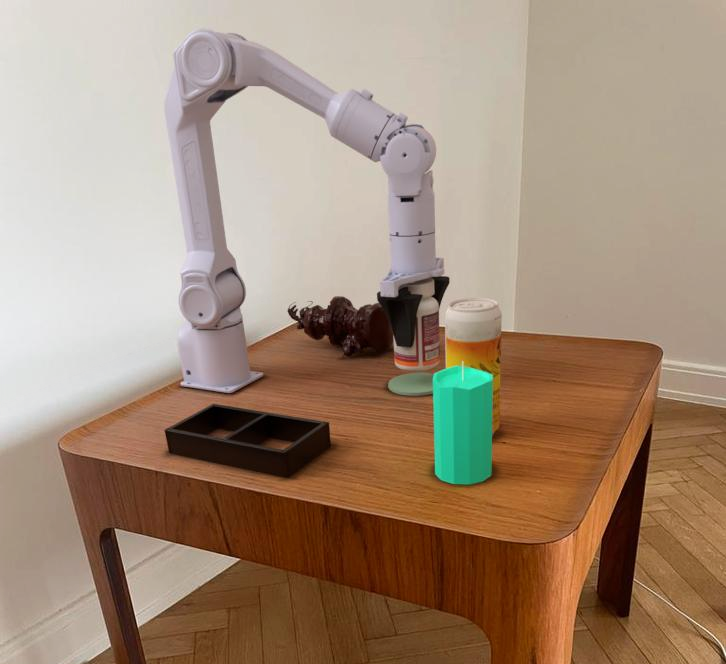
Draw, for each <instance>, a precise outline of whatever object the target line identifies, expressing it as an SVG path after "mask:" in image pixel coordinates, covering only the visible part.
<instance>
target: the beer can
mask: <svg viewBox="0 0 726 664" xmlns="http://www.w3.org/2000/svg"><path fill="white" fill-rule="evenodd" d="M445 311H446V312H445V314H444V341H445V342H444V343H445V344H444V346H445V369H447V368H450V367H453V366H462V361H464V367H470V368H475V369H478V370H481V371H485V372H487V373H490V374H492V375H493V409H492V436H493V435H494V434H495V433H496V431H497V430H498V429H499V428H500V416H501V415H500V414H501V413H500V411H501V365H502V364H501V363H502V319H503V317H502V315H503V314H502V310H501V309H500V306H499V303H498V301H497V300H495V299H492V298H486V297H485V298H484V297H468V298H460V299H457V300H453V301H451V302H449V303H448V307H447V309H446V310H445Z"/></svg>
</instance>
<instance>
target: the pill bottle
mask: <svg viewBox="0 0 726 664" xmlns="http://www.w3.org/2000/svg"><path fill="white" fill-rule="evenodd" d="M407 287H408V292H409V291H410V292H411V294H421V295H423V297H422V299H421V301H420V304H419V307H418V311H417V315H416V322H415V337H414V343H413V346H412V347H400V346H397V345H396V342H395V339H394V335H393V339H394V340H393V356H394V364H395V366H396V367H397V369H400V370H403V371H408V372H422V371H423V372H424V371H429V370H431V369H434V368H435V367H437V366H438V365H439V364H440V362H441V346H440V345H441V344H440V343H441V341H440V308H439V304H438V302H437V300H436V299H434V298H433V297H431V296H432V295H434V293H435V290H434V279H433V278H427V279H423V280H419V281H416V282H414V283H413V284H409V285H408V286H407Z"/></svg>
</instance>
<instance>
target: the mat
mask: <svg viewBox="0 0 726 664" xmlns="http://www.w3.org/2000/svg"><path fill="white" fill-rule="evenodd" d="M433 377H434V373H431V372H409V373H405V374H400V375H397V376H395V377H393V378H391V379H390V380H389V381H388V383H387V387H388V390H389V391H390V392H392V393H394V394H395V395H401V396H407V397H420V396H421V397H422V396H428V395H433Z"/></svg>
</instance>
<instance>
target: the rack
mask: <svg viewBox="0 0 726 664" xmlns="http://www.w3.org/2000/svg"><path fill="white" fill-rule="evenodd" d="M217 429H221V430H227V431H232V432H231V433H230V434H228V435H226V436H224V437H223V438H222V437H217V436H212V435H208V434H210V433H212V432H213V431H215V430H217ZM164 434H165V439H166V445H167V450H168V454H171V455H177V456H182V457H185V458H191V459H195V460H200V461H205V462H210V463H215V464H220V465H224V466H228V467H234V468H239V469H243V470H248V471H252V472H256V473H257V472H258V473H263V474H268V475H272V476H277V477H281V478H286V479H289V478H290V477H292V476H293V475H294V474H296V473H297V472H298V471H299V470H301V469H302V468H304V467H305V466H307V464H309V463H310V462H311V461H313V460H314V459H316V458H318V457H319V456H320V455H321V454H322V453H324V452H326V450H328V449H329V448H331V446H332V442H331V431H330V422H329V421H322V420H318V419H317V420H316V419H312V418H311V419H310V418H304V417H298V416H292V415H287V414H279V413H274V412H267V411H262V410H255V409H248V408H243V407H237V406H230V405H224V404H218V403H212V404H209V405H208V406H206V407H204V408H203V409H201V410H199V411H197V412H194V413H193V414H192V415H189V416H188V417H186V418H184V419H182V420H180V421H178V422H176V423H174V424H173V425H171V426H169V427H167V428H165V429H164ZM269 439H277V440H283V441H288V442H293V443H292V444H289V445H288V446H287V447H285V448H284V449H281V448H276V447H270V446H264V445H262V444H263V443H264V442H266V441H268V440H269Z"/></svg>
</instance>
